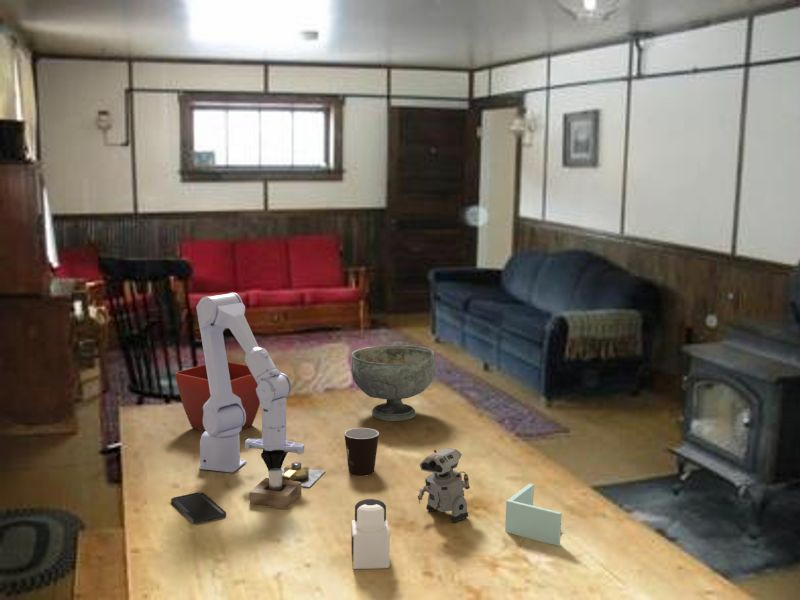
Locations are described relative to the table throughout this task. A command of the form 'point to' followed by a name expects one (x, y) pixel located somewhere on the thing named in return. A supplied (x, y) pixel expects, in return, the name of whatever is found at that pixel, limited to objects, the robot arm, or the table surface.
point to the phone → (198, 508)
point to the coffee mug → (361, 450)
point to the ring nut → (295, 472)
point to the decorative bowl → (393, 376)
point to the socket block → (275, 494)
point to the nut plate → (309, 477)
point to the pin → (275, 479)
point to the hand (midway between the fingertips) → (274, 479)
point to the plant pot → (198, 393)
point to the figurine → (445, 484)
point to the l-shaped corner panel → (532, 518)
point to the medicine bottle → (370, 536)
